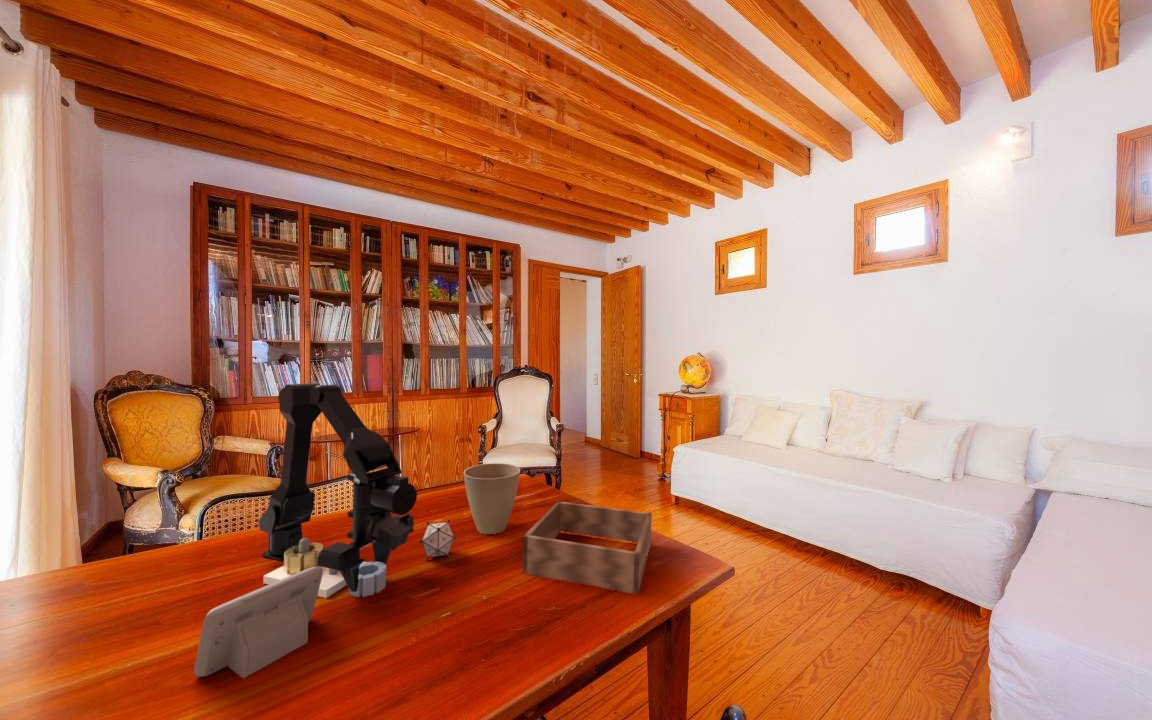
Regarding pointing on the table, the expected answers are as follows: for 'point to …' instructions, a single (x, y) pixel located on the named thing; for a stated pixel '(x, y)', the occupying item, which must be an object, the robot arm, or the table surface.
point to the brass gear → (301, 558)
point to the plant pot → (491, 495)
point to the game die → (438, 539)
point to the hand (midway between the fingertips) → (367, 582)
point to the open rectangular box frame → (589, 546)
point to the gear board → (329, 580)
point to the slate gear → (370, 579)
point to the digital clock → (258, 625)
